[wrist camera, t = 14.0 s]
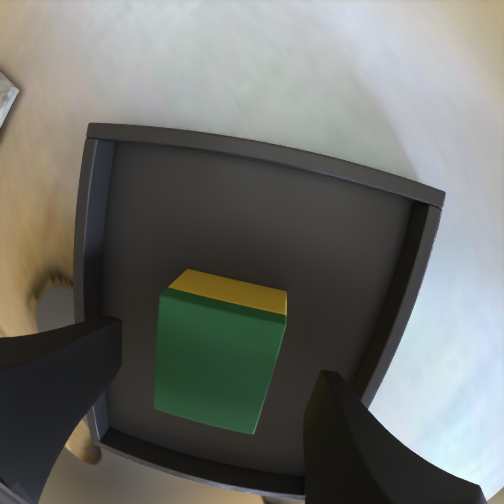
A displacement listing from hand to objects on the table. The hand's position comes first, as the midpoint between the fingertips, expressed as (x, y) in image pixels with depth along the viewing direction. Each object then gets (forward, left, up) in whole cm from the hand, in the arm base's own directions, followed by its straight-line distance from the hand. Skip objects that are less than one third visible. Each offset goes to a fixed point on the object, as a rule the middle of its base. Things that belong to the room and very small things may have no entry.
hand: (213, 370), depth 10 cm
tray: (-1, 0, -3) cm, 3 cm away
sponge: (0, 0, -3) cm, 3 cm away
